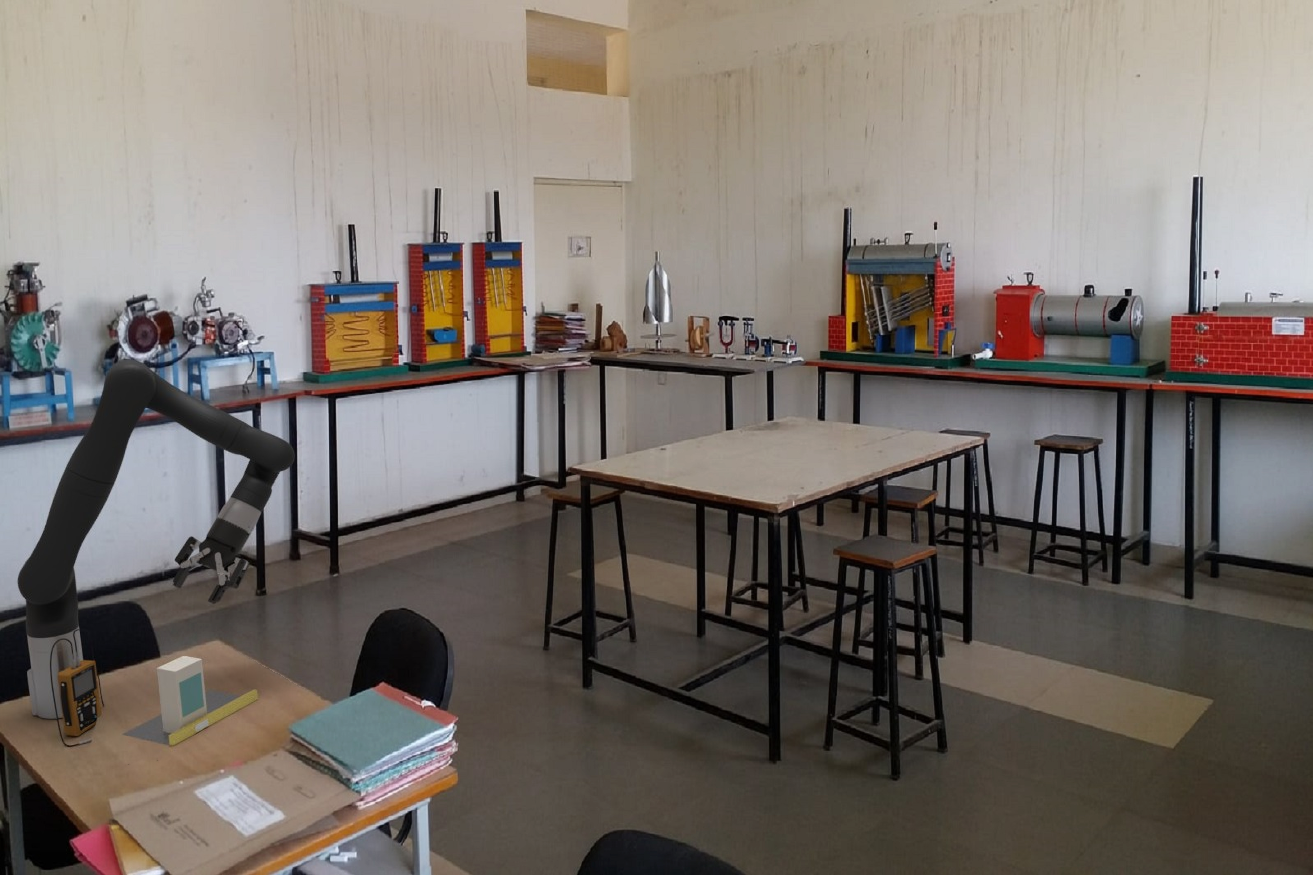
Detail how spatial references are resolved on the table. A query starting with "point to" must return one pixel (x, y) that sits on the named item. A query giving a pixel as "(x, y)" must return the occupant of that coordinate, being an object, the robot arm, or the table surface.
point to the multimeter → (78, 694)
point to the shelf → (216, 710)
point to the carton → (181, 692)
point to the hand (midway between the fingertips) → (193, 594)
